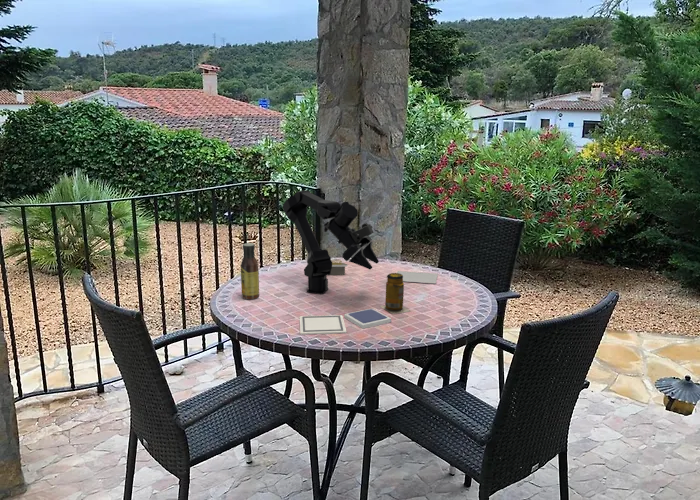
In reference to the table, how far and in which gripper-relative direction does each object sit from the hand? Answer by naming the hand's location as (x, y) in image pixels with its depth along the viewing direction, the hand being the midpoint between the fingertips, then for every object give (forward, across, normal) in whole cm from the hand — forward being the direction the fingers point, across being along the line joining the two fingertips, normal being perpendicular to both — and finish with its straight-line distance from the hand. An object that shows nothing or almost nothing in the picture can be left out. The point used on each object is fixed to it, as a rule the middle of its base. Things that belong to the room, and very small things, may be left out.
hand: (374, 265), depth 188 cm
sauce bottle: (-23, -5, +41) cm, 47 cm away
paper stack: (+13, +32, +7) cm, 36 cm away
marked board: (+2, -22, +19) cm, 29 cm away
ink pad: (+11, -13, +10) cm, 20 cm away
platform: (-9, +31, +26) cm, 42 cm away
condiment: (+16, -1, +6) cm, 17 cm away
